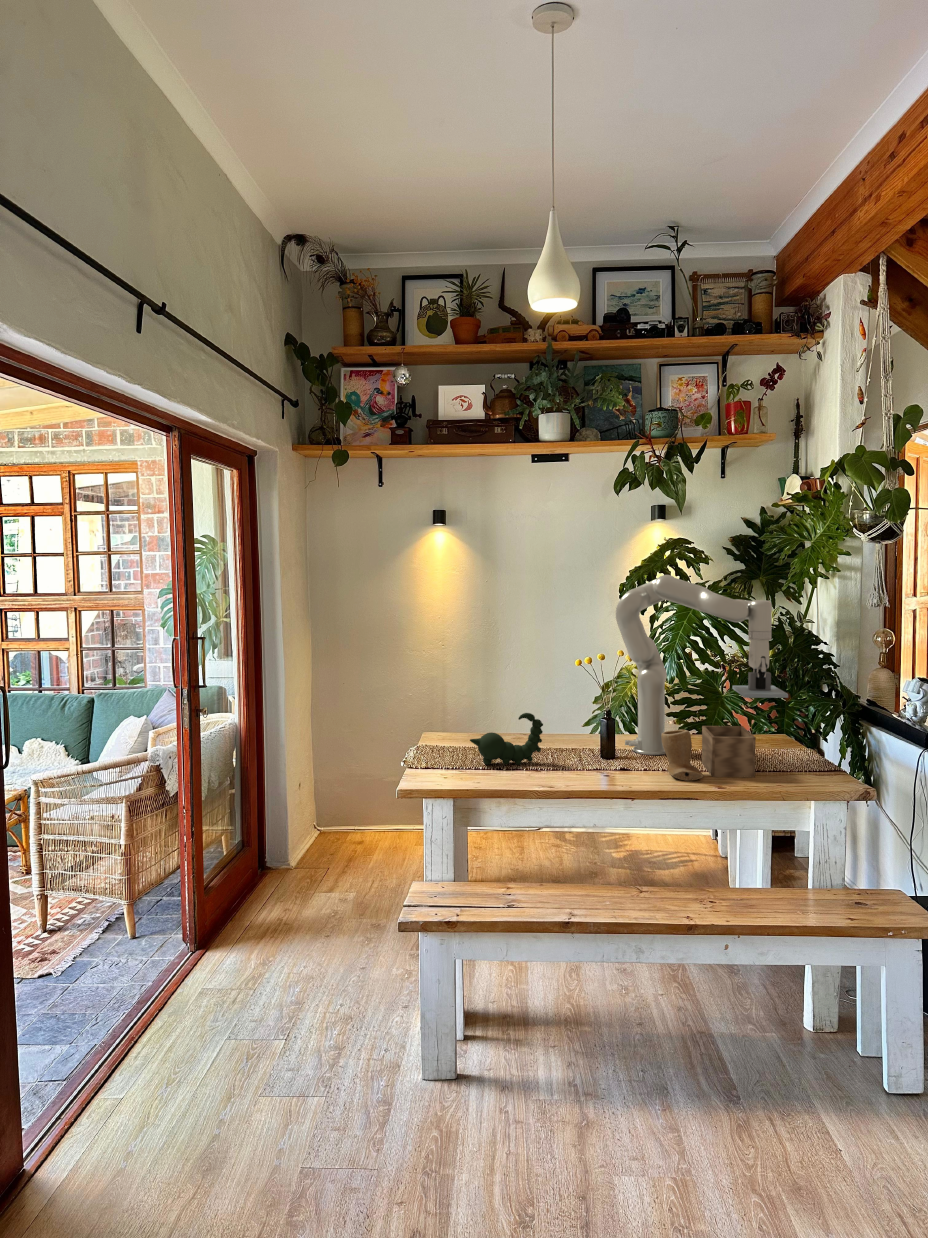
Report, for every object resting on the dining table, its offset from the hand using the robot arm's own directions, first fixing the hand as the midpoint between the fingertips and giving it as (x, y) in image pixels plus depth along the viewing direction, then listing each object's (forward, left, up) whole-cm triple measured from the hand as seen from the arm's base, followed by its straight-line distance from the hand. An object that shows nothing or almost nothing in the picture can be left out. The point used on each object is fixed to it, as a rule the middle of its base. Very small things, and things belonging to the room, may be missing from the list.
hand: (759, 687), depth 297 cm
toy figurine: (-88, -12, -25) cm, 92 cm away
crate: (-14, -17, -25) cm, 33 cm away
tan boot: (-31, -25, -25) cm, 47 cm away
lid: (0, 0, -2) cm, 2 cm away
